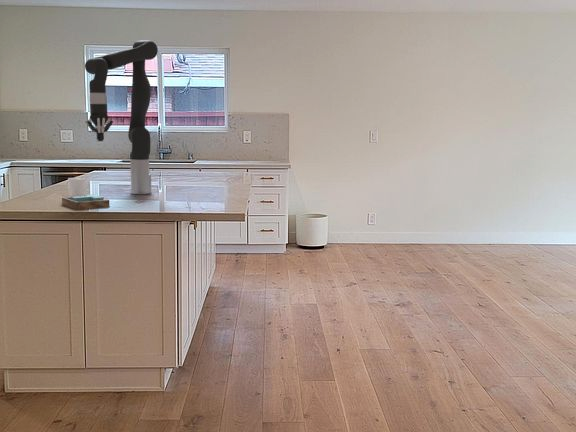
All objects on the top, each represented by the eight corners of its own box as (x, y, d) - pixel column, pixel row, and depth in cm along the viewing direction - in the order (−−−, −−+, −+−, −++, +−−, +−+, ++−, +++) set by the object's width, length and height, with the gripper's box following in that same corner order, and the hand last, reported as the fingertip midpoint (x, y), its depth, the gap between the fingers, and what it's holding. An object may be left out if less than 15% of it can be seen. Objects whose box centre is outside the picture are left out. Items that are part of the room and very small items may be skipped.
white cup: (90, 199, 285) (89, 178, 283) (79, 201, 278) (78, 179, 276) (76, 198, 288) (75, 177, 286) (64, 200, 280) (64, 178, 279)
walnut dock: (93, 202, 277) (93, 195, 276) (109, 206, 264) (109, 200, 263) (62, 204, 268) (61, 197, 268) (76, 209, 255) (76, 202, 254)
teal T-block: (93, 203, 274) (92, 194, 273) (103, 206, 265) (103, 197, 264) (68, 205, 267) (68, 195, 266) (78, 208, 258) (78, 199, 257)
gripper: (108, 103, 288) (110, 140, 291) (81, 103, 280) (83, 141, 283) (115, 103, 283) (117, 141, 286) (87, 103, 274) (89, 142, 277)
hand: (100, 141), depth 284 cm, fingers closed
